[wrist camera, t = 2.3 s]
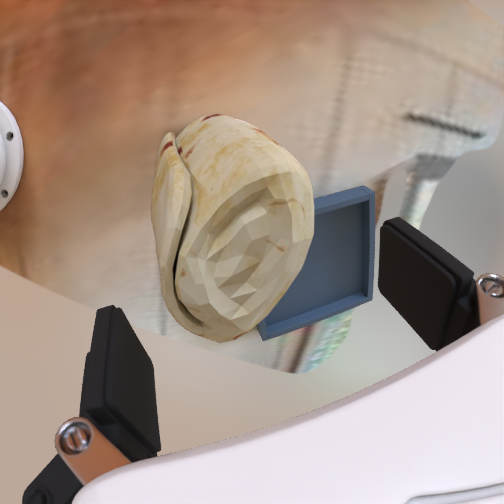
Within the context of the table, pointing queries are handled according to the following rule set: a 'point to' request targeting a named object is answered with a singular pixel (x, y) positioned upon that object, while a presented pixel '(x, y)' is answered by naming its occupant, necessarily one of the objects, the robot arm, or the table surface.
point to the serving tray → (330, 264)
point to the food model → (228, 225)
